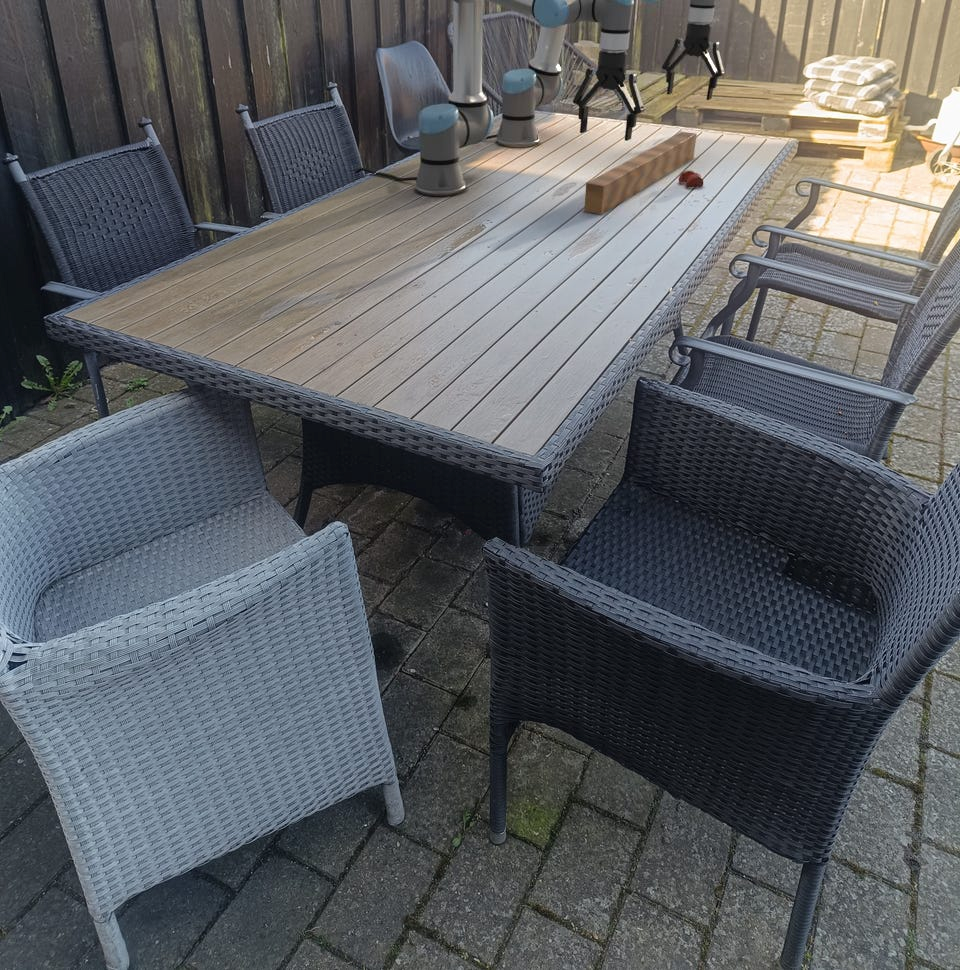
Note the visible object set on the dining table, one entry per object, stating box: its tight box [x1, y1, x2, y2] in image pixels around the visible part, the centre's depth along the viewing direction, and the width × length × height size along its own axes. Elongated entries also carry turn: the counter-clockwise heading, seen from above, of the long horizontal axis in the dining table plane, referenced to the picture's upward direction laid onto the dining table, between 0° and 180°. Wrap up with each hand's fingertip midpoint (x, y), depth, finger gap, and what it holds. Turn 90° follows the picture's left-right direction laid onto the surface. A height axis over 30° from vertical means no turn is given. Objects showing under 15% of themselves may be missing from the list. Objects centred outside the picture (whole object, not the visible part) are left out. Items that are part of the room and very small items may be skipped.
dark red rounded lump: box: [678, 169, 704, 189], centre depth 261 cm, size 6×4×8 cm
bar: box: [583, 131, 698, 215], centre depth 262 cm, size 71×5×8 cm, turn 147°
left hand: (605, 136), depth 232 cm, fingers open, 13 cm apart
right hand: (688, 96), depth 274 cm, fingers open, 13 cm apart
